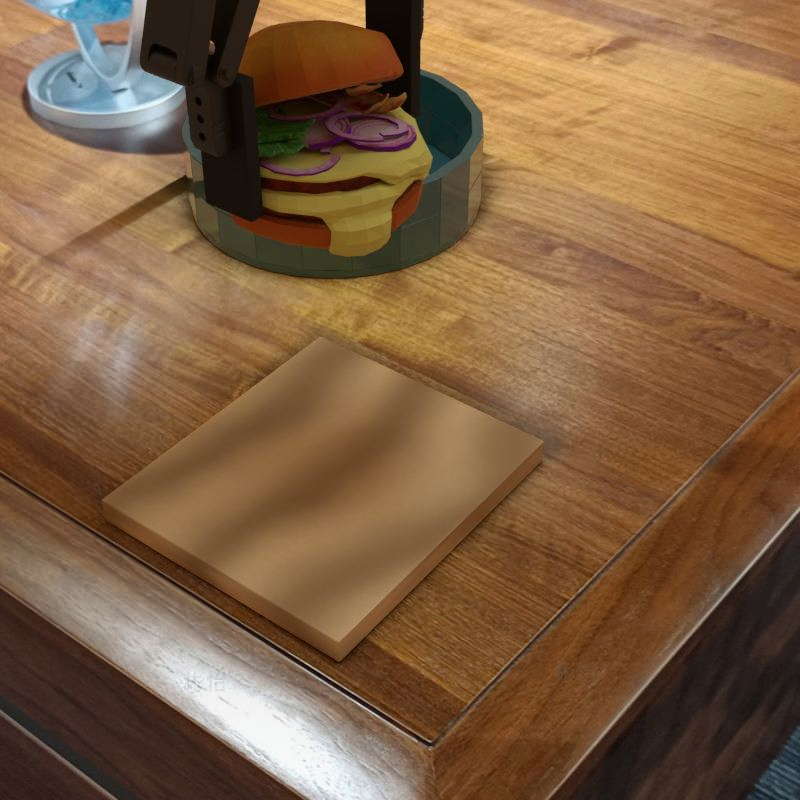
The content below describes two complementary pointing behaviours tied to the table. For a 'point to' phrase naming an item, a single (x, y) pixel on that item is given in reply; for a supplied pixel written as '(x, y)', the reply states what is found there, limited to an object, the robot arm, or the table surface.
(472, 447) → the board
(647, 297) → the table surface
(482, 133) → the bowl
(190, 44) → the robot arm
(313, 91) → the cheeseburger
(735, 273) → the table surface
